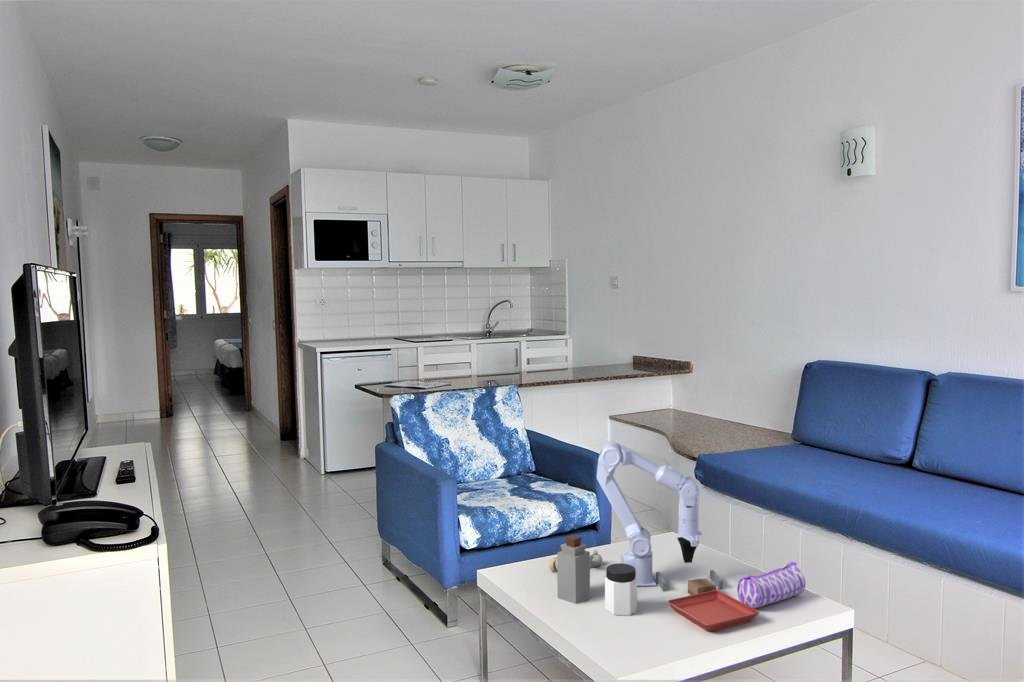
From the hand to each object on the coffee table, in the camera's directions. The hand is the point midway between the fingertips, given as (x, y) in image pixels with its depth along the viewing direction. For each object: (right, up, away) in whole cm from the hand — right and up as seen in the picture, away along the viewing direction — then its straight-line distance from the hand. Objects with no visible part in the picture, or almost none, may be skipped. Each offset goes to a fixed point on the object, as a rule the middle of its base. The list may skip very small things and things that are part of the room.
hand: (687, 562), depth 235 cm
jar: (-23, -9, -18) cm, 30 cm away
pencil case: (+21, -8, -13) cm, 26 cm away
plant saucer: (+2, -9, -23) cm, 24 cm away
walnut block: (+2, -8, -8) cm, 12 cm away
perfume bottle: (-35, -8, -8) cm, 37 cm away
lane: (0, -7, 0) cm, 7 cm away
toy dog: (-33, -7, +14) cm, 36 cm away
